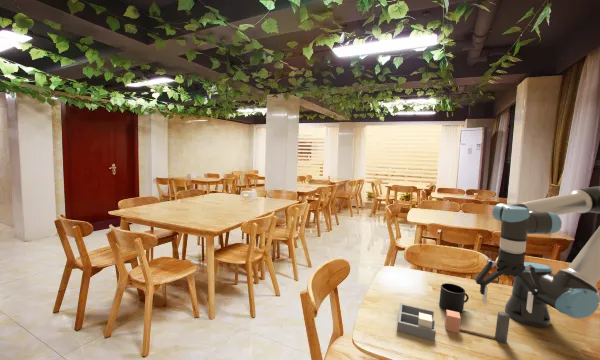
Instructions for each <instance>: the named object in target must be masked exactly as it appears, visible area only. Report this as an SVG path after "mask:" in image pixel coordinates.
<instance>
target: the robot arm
mask: <svg viewBox="0 0 600 360" xmlns="http://www.w3.org/2000/svg"><path fill="white" fill-rule="evenodd" d="M571 213H577V214H585V213H595V214H600V185H599V186H598V185H597V186H591V187H585V188H584V187H583V188H579V189H573V190H571V191H569V192H568V193H567V194H560V195H556V196H550V197H546V198H545V197H544V198H539V199H535V200H529V201H524V202H519V203H514V204H513V203H512V204H509V203H502V202H501V203H497V204H496V205H494V207H493V209H492V213H491V214H492V217H493V218H494V219H495V220H496V221H498V222H500V223H501V224H500V233H499V234H500V237H499V246H498V247H499V248H498V256H497V261H494V260H491V259H490V258H489V259H487V260H486V264H485V266H484V267H483V268H482V269H481V270H480V272H479V274H478V275H477V276H476V277H475V279H474V281H475V283H476V284H477V285H479V286H480V288H479V292H480V295H482V299H481V301H482V304H483V305H485V306H486V305H487V298H488V286H487V285H489V284H490V283H492V282H493V281H495V280H496V279H497V278H499V277H501V276H503V275H504V276H506V277H512V278H513V282H512V292H511V295H510V297H509V298H508V299H507V302H506V303H505V306H504V313H507V314H509V315H510V319H513V320H515V321H517V322H519V323H521V324H524V325H527V326H530V327H535V328H548V327H550V325H551V316H550V310H549V307H548V306H550V307H551V308H553V309H555V310H557V311H558V312H559V313H560V314H563V315H566V316H568V317H570V318H573V319H584V318H588V317H591V316H592V315H593V314H594V313H595V312H596V311H597V310H598V308H599V306H600V304H599V303H600V296H599V295H598V294H597V293H598V292H599V289H598V287H597V283H598V282H599V281H600V225H599V226H598V228H597V229H596V230H595V231H594V233H593V234H592V235H591V236H590V237H589V239H588V241H587V242H586V243H585V245H584V246H583V247H582V248H581V250H580V251H579V253H578V254H577V255H576V256H575V258H574V259H573V260H572V262H570V264H569V265H568V267H567V268H564V269H563V268H562V269H559V270H558V271H557V272H556V274H554V273H553V270H552V269H553V268H552V267H550V266H549V265H546V264H542V263H536V262H529V261H528V262H527V261H525V259H526V257H525V256H526V249H527V240H528V239H527V238H528V235H540V234H542V235H549V234H556V233H558V232H559V231H560V230H561V228H562V223H563V222H562V219H561V218H560V216H561V215H565V214H571ZM495 266H496V267H497V268H495V270H494V271H493V272H491V273H490V274H489V275H488V273H489V272H490V271H491V270H492V268H493V267H495Z"/></svg>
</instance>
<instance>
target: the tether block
mask: <svg viewBox="0 0 600 360" xmlns="http://www.w3.org/2000/svg"><path fill="white" fill-rule="evenodd" d="M510 320H511V317H510V315H509V314H507V313H506V312H505V311H504V312H503V311H498V312H497V318H496V325H495V334H494V335H491V334H487V333H482V332H479V331H475V330H470V329H465V328H462V327H460V326H461V321H462V318H461V313H459V312H455V311H451V310H445V319H444V325H445V331H447V332H453V333H456V334H460V332H464V333H469V334H471V335H472V334H473V335H477V336H480V337H485V338H489V339H492V340H495V341H496V342H497V343H500V344H507V342H508V334H509V326H510Z"/></svg>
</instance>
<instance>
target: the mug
mask: <svg viewBox="0 0 600 360" xmlns="http://www.w3.org/2000/svg"><path fill="white" fill-rule="evenodd" d="M469 299H470V297H469V295H468V294H467V293H466V290H465V288H463V287H462V286H460V285H458V284H455V283H449V282H447V283H446V282H445V283H442V284H440V293H439V302H438V303H439V304H438V305H439V307H440V308H441V309H442V310H444V311H446V310H451V311H455V312H459V314H461V313H463V312H464V307H465V303H467V302H468V301H469Z"/></svg>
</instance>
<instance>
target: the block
mask: <svg viewBox="0 0 600 360" xmlns="http://www.w3.org/2000/svg"><path fill="white" fill-rule="evenodd" d="M418 326H422V327H426V328H430V329H432V315H429V314H424V313H420V312H419V318H418Z"/></svg>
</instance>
